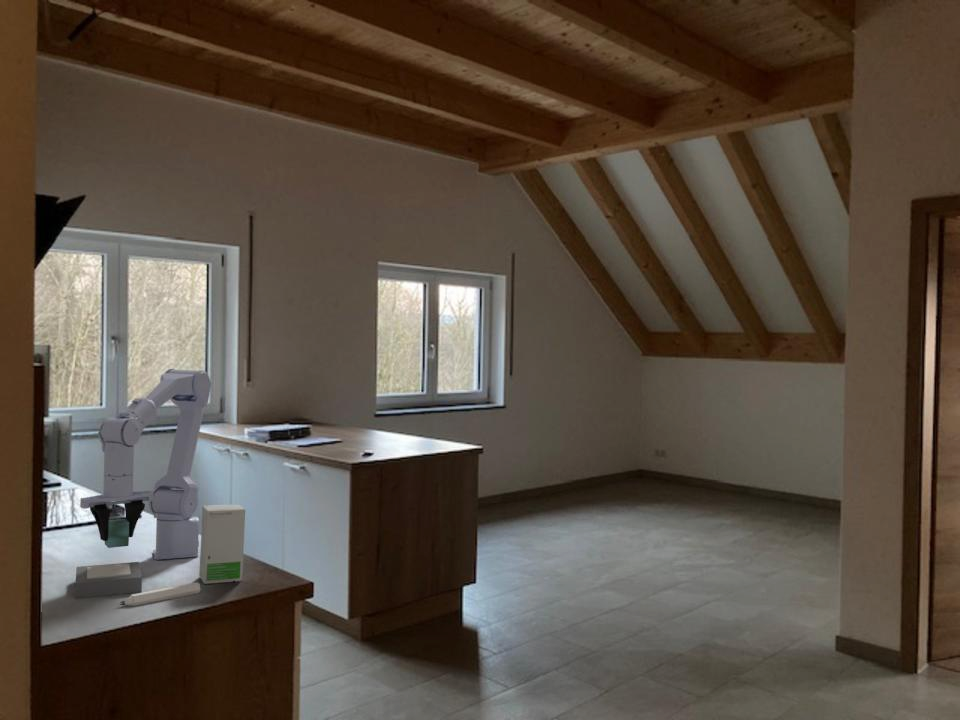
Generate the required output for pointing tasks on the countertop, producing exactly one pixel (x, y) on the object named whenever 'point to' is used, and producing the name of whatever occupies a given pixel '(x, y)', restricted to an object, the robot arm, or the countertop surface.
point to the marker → (161, 594)
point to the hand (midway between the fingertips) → (116, 538)
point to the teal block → (118, 533)
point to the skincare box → (222, 543)
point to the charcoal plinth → (108, 579)
